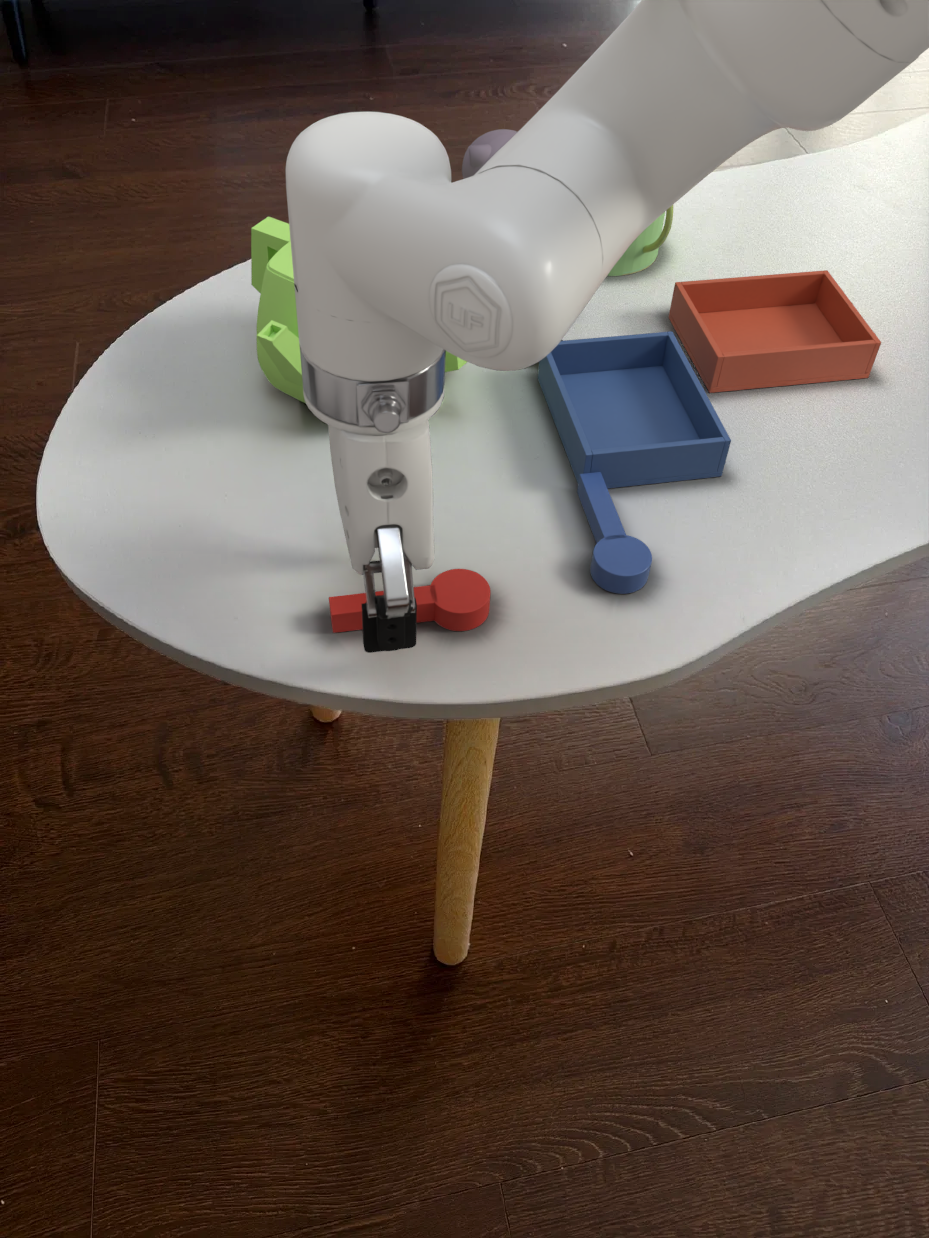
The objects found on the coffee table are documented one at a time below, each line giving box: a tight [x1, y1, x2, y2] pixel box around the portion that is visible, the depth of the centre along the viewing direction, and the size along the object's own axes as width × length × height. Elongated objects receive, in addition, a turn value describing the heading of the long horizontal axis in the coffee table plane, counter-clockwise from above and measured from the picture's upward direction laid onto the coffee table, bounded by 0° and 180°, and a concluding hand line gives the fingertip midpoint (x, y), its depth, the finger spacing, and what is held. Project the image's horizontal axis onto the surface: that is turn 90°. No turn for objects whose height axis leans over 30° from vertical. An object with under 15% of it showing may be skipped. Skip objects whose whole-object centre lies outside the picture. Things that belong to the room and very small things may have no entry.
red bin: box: [668, 269, 882, 394], centre depth 93 cm, size 14×11×4 cm
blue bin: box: [537, 330, 732, 490], centre depth 85 cm, size 11×14×4 cm
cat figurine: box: [461, 128, 518, 179], centre depth 97 cm, size 8×8×12 cm
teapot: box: [250, 216, 468, 404], centre depth 83 cm, size 18×20×13 cm
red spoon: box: [328, 568, 491, 634], centre depth 72 cm, size 4×10×2 cm, turn 101°
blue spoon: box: [576, 472, 653, 595], centre depth 77 cm, size 4×10×2 cm, turn 11°
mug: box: [607, 204, 674, 277], centre depth 99 cm, size 13×10×12 cm
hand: (378, 589), depth 70 cm, fingers open, 9 cm apart
